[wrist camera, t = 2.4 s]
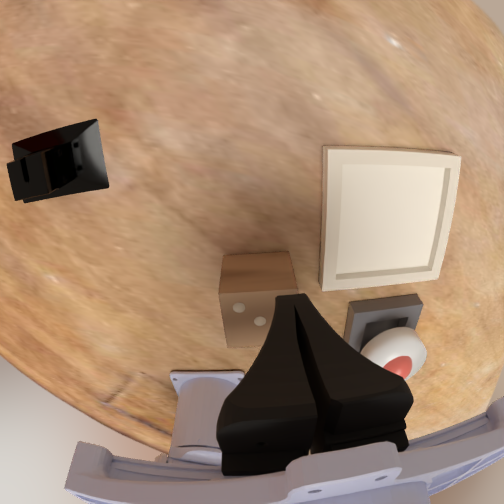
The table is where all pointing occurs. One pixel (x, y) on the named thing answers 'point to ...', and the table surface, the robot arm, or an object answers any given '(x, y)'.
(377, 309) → the grey button base
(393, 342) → the dome
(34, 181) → the black tapered mount
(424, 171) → the die pad
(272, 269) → the die
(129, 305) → the table surface
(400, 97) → the table surface
